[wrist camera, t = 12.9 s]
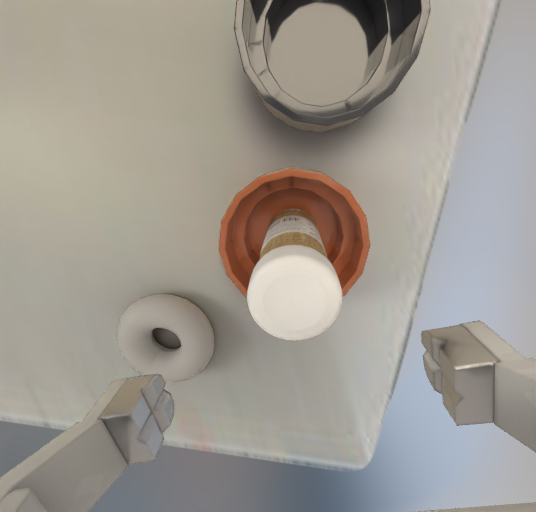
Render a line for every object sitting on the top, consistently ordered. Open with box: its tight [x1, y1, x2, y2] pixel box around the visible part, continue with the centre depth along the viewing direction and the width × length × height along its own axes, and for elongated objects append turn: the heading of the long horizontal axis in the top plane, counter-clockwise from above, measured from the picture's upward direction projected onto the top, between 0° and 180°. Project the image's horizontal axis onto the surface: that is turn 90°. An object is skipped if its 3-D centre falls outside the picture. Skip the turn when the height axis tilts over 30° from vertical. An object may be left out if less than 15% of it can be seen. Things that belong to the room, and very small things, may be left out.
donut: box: [117, 294, 214, 382], centre depth 29 cm, size 10×4×10 cm
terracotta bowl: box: [219, 166, 370, 297], centre depth 24 cm, size 11×11×6 cm
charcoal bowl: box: [234, 0, 430, 132], centre depth 19 cm, size 11×11×6 cm
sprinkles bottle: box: [247, 208, 342, 340], centre depth 20 cm, size 5×5×14 cm
